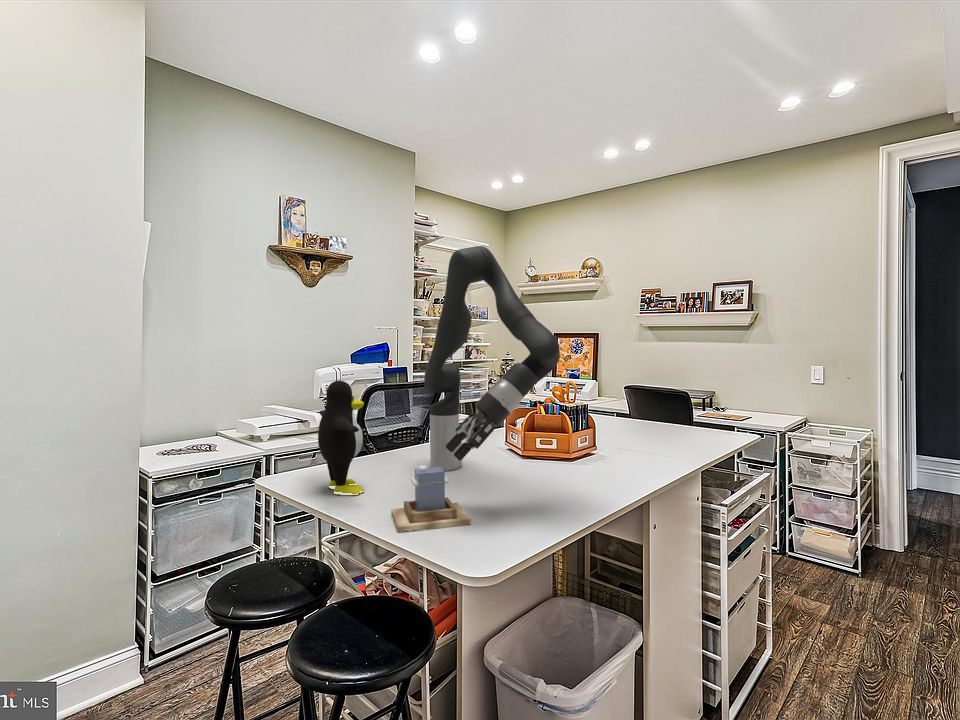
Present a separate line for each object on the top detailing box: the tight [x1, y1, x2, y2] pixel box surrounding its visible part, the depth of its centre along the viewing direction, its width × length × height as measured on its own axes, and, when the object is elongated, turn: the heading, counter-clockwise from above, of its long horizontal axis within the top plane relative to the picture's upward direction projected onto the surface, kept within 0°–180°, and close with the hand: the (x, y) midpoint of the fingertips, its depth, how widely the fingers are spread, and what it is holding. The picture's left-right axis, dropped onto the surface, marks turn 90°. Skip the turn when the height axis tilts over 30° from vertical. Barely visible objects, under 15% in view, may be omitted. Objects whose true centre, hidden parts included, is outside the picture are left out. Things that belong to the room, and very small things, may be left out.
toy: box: [317, 380, 365, 494], centre depth 139 cm, size 37×12×30 cm, turn 30°
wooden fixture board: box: [390, 496, 472, 533], centre depth 116 cm, size 16×12×3 cm
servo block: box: [410, 465, 450, 512], centre depth 116 cm, size 8×4×11 cm, turn 106°
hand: (452, 453), depth 117 cm, fingers open, 8 cm apart
